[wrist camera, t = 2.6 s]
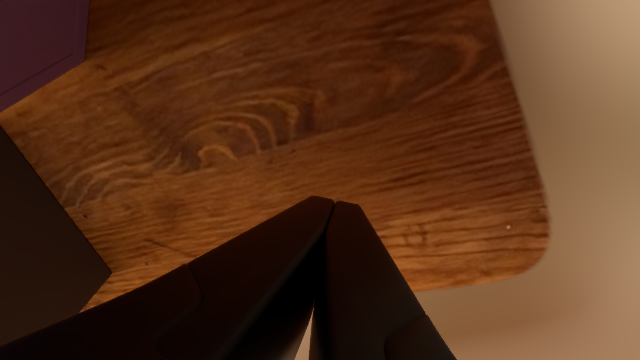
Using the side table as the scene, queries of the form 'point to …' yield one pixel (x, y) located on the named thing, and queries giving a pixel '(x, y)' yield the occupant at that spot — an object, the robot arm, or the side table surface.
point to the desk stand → (39, 253)
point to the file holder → (39, 44)
